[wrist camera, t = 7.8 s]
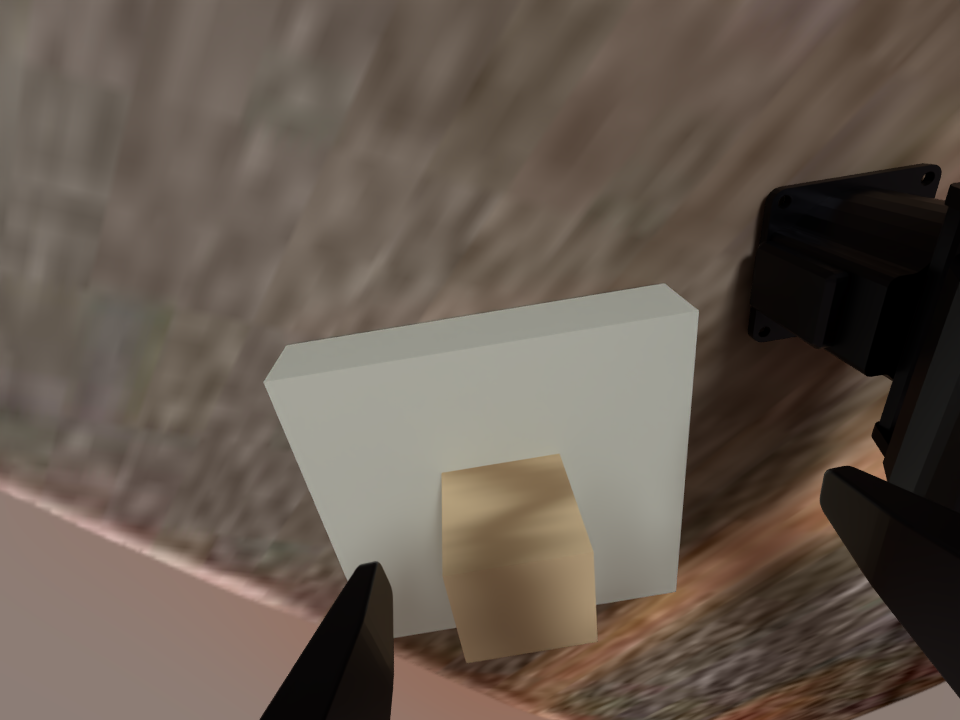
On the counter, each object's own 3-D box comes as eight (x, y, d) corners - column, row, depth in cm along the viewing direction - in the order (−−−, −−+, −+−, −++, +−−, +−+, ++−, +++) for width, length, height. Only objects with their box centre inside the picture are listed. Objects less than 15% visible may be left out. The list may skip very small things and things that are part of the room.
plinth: (664, 283, 20) (698, 310, 17) (653, 545, 28) (676, 591, 25) (286, 345, 20) (263, 382, 17) (379, 590, 28) (373, 641, 25)
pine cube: (559, 453, 20) (593, 551, 16) (566, 536, 22) (597, 642, 18) (441, 473, 20) (442, 576, 16) (460, 553, 22) (466, 663, 18)
